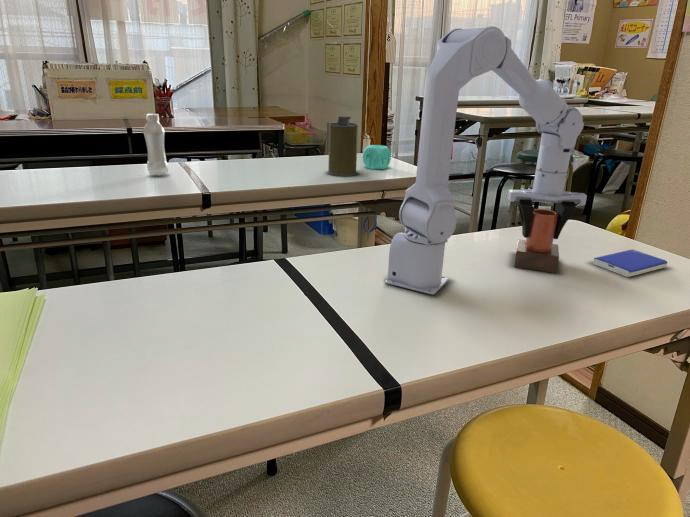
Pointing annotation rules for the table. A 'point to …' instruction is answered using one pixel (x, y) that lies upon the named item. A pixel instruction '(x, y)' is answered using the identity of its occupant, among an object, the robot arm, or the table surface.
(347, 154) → the canister
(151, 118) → the plastic bottle
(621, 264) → the hard drive
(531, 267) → the block
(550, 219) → the cup
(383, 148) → the decorative dice
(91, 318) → the table surface
